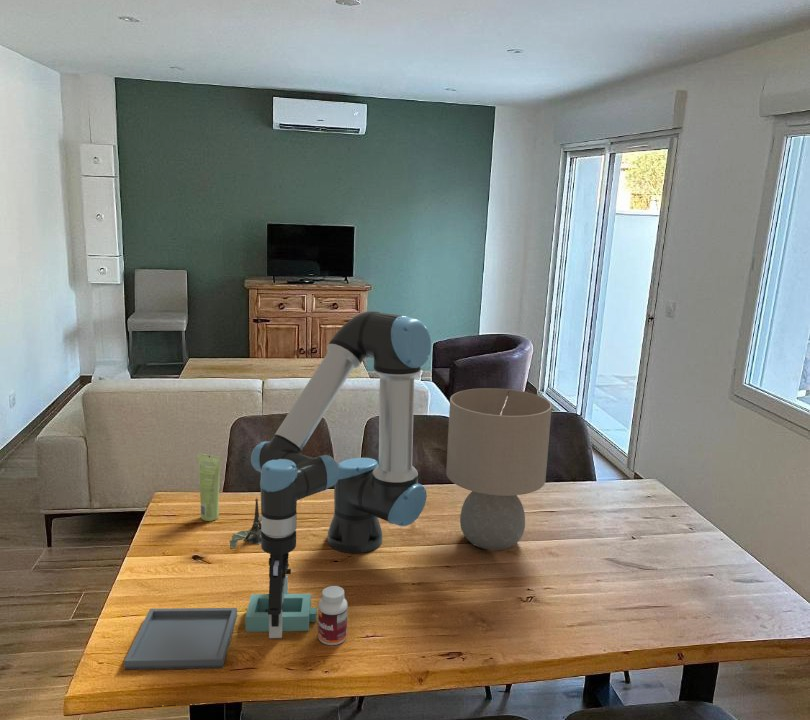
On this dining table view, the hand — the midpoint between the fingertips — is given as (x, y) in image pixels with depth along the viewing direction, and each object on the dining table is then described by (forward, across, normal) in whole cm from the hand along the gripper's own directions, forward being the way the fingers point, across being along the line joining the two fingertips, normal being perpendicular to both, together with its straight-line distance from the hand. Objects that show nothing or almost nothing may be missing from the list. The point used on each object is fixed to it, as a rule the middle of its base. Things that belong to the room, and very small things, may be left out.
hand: (278, 618), depth 155 cm
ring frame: (0, 0, 0) cm, 0 cm away
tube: (0, -51, -25) cm, 57 cm away
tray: (0, +7, -19) cm, 20 cm away
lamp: (0, -36, +55) cm, 66 cm away
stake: (0, 0, 0) cm, 0 cm away
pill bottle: (0, +7, +12) cm, 14 cm away
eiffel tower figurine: (+1, -39, -10) cm, 40 cm away
